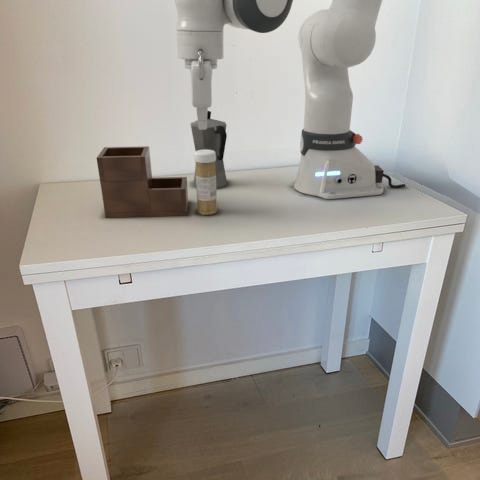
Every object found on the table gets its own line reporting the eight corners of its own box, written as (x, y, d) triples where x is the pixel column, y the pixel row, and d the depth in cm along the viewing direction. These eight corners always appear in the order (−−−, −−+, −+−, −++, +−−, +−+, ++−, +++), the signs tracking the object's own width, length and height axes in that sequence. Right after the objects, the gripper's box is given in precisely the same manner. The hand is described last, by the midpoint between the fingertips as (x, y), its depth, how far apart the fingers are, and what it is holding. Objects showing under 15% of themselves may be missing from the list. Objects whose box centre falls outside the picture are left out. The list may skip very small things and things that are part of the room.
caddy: (188, 201, 118) (184, 145, 112) (187, 215, 110) (183, 155, 104) (112, 203, 118) (104, 147, 111) (105, 217, 109) (96, 157, 103)
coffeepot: (184, 180, 134) (179, 108, 124) (215, 175, 138) (212, 105, 128) (209, 195, 122) (206, 118, 113) (242, 189, 126) (242, 114, 117)
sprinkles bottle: (209, 207, 115) (207, 147, 108) (221, 212, 112) (219, 151, 105) (193, 211, 112) (189, 151, 105) (205, 217, 109) (202, 155, 102)
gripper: (218, 51, 86) (219, 134, 94) (215, 45, 104) (216, 116, 111) (182, 51, 86) (185, 135, 93) (185, 45, 103) (188, 116, 111)
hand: (202, 124), depth 102 cm, fingers open, 8 cm apart
